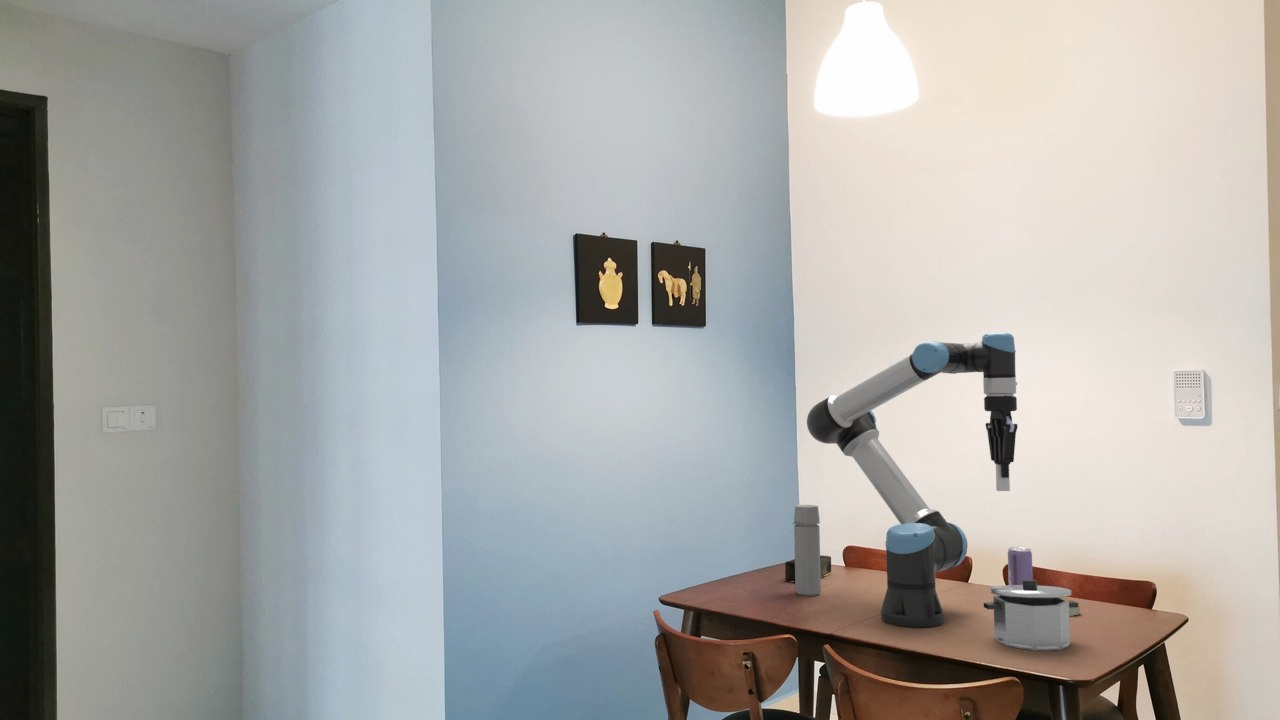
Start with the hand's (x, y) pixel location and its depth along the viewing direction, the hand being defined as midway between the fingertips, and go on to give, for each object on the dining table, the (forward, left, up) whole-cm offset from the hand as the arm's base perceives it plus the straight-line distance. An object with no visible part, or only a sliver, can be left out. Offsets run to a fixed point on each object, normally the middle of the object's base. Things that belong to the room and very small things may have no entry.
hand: (1003, 490), depth 224 cm
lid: (-2, -17, -22) cm, 28 cm away
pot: (-2, -17, -32) cm, 37 cm away
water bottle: (-41, +39, -33) cm, 65 cm away
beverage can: (+12, +18, -33) cm, 39 cm away
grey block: (+18, +9, -33) cm, 39 cm away
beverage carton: (-35, +62, -33) cm, 78 cm away
